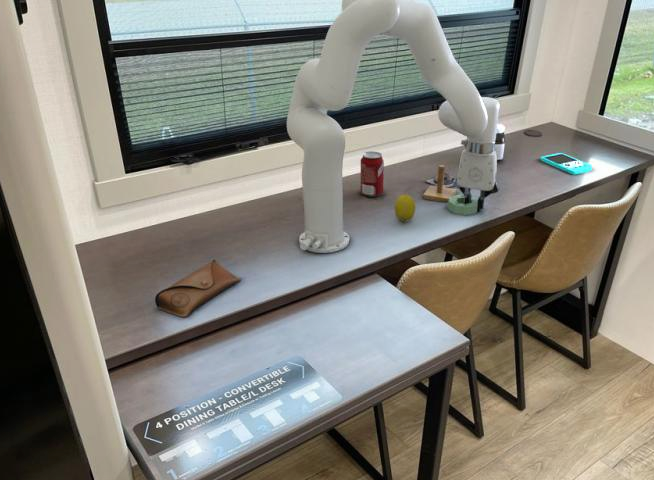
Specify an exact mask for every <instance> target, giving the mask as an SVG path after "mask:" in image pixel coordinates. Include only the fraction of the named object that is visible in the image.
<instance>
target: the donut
mask: <svg viewBox="0 0 654 480" xmlns="http://www.w3.org/2000/svg"><path fill="white" fill-rule="evenodd" d="M455 180H456V179H455V178H454V177H453V176H452V175H450V174H448V173H447V172H444V183H443V187H445V188H451V187H454V185H453V183H454V182H455ZM437 181H438V173H437V174H435V176H433V178H430V179H426V180H425V182H426V183H429V184H430V185H432V186H437Z"/></svg>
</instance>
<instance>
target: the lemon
mask: <svg viewBox="0 0 654 480" xmlns="http://www.w3.org/2000/svg"><path fill="white" fill-rule="evenodd" d="M394 214H395V216H396V218H397V219H398V220H400V221H402V223H407V221H408V222H409V220H411V219H413V217H414V216H415V214H416V203H415V200H414V198H413V197H412V196H411V195H408V194H407V193H404V194H402V195H400V196H398V198H397V199H396V200H395V204H394Z"/></svg>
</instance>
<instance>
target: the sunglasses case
mask: <svg viewBox="0 0 654 480" xmlns="http://www.w3.org/2000/svg"><path fill="white" fill-rule="evenodd" d="M241 280H242V279H241V278H240V277H237V276H235V275H234V274H233V273H231V271H229V270H227V269H226V268H225V267H223V266H222V265H220V263H218V262H217V261H216V259H213V260H212V261H210V262H209V263H208V264H206V265H203V266H202V267H200V268H198V269H197V270H194V271H193V272H190V274H188V275H186V276H185V277H183V278H181V279H179V280H178V281H176V282H175V283H173V284H172V285H170V286H168V287H166V288H164V289H162V290H160V291H159V292H158V293H156V295H155V297H154V302H155V305H156V307H157V309H159V310H160V311H162V312H165V313H167V314H171V315H173V316H176V317H180V318H186V317H189V316H190V315H191V314H192V313H193V312H194V311H196V310H197V309H199V308H200V307H201V306H203V305H205V304H207V302H209V301H211V300H212V299H214V298H215V297H217V296H218V295H221V294H222V293H223V292H226V291H228V289H230V288H231V287H232V286H234V285H236V284H237V283H238V282H241Z"/></svg>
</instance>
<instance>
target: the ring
mask: <svg viewBox="0 0 654 480" xmlns="http://www.w3.org/2000/svg"><path fill="white" fill-rule="evenodd" d="M478 199H479V198H477V197H475V196H473V195H472V197H471V203H469V204H464V203H465V197H464V194H463V193H462V194H457V195H456V194H455V195H454V196H451V197H450V199H449V200H448V202H447V210H449V211H450V212H452V213H453V214H457V215H463V216H470V215H474V214H477V206H478V205H477V203H478Z"/></svg>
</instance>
